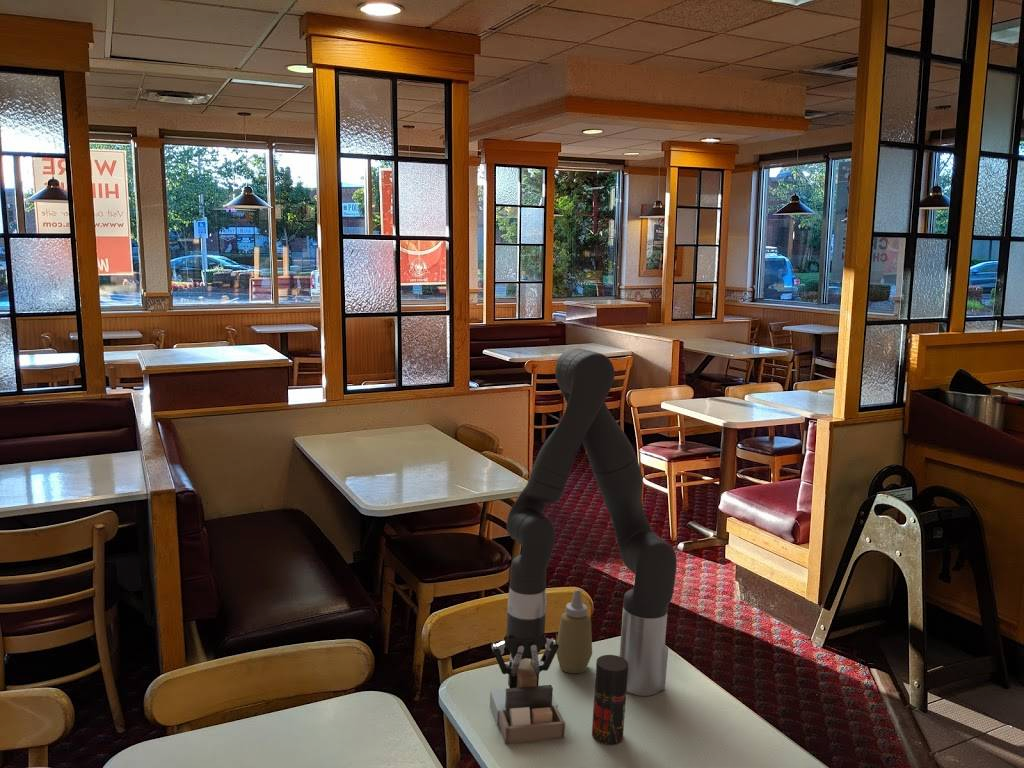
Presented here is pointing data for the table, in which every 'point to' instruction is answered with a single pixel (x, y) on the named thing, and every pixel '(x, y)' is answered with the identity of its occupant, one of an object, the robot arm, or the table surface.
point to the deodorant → (609, 699)
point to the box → (532, 729)
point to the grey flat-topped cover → (499, 704)
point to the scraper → (528, 690)
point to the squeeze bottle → (574, 636)
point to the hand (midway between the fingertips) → (522, 689)
